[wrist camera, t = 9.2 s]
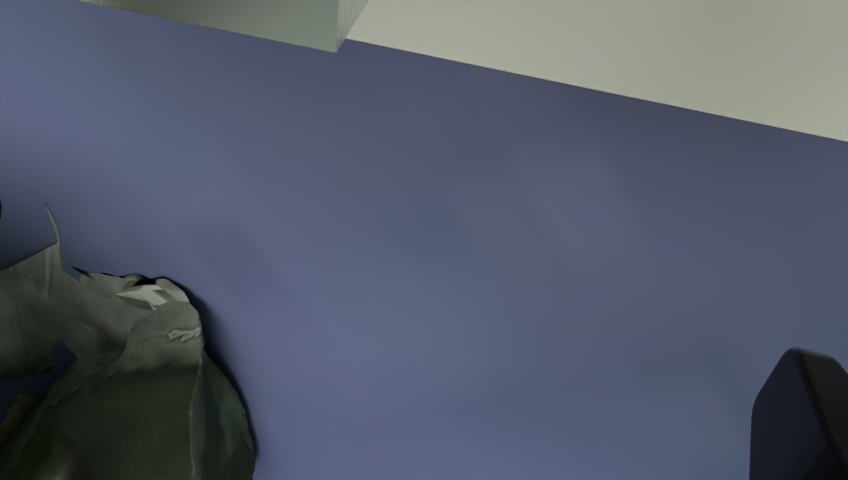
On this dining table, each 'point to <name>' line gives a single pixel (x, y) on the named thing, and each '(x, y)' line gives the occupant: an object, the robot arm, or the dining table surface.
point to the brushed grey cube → (260, 17)
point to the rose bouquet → (113, 381)
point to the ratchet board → (647, 50)
